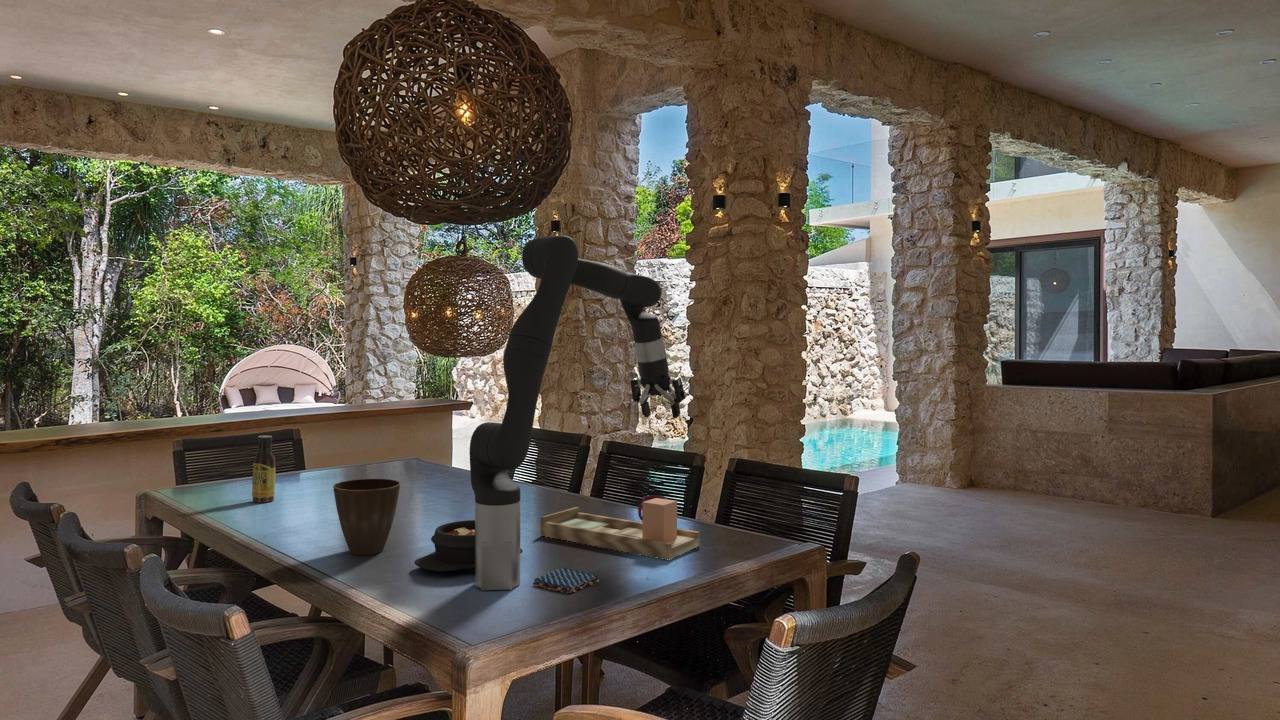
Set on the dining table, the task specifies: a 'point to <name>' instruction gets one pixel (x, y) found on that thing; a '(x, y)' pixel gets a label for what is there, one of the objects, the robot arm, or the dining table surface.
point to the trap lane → (614, 534)
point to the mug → (644, 501)
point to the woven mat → (565, 580)
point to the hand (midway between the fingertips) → (661, 416)
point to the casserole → (452, 548)
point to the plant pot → (366, 512)
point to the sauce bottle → (264, 472)
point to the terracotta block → (659, 520)
